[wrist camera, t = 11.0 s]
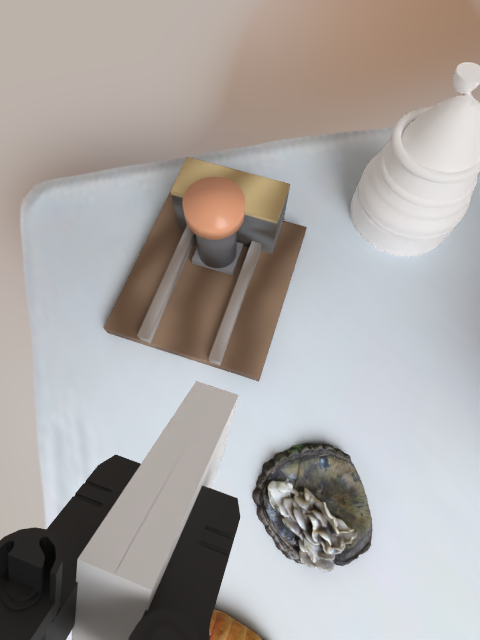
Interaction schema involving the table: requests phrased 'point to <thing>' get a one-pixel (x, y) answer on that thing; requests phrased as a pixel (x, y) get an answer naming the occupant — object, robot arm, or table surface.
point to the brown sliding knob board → (212, 280)
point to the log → (314, 506)
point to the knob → (215, 222)
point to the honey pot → (422, 174)
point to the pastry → (229, 628)
